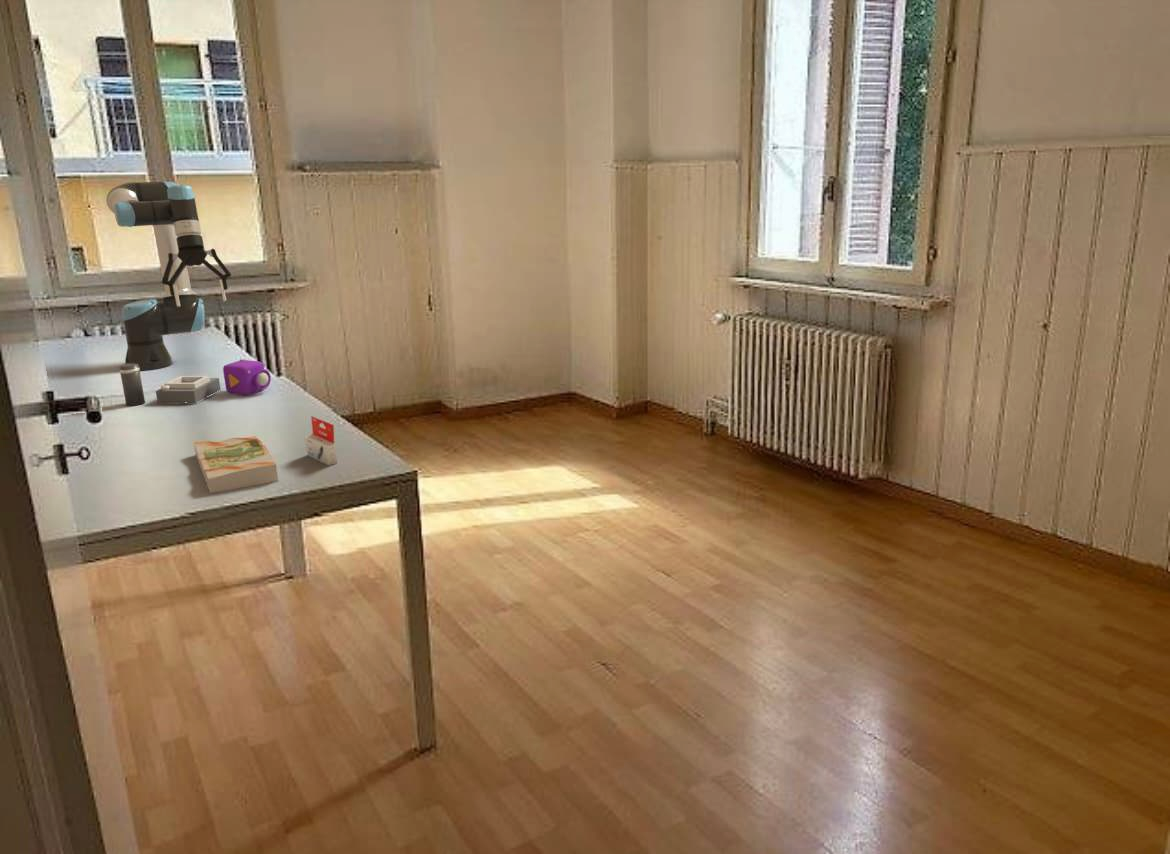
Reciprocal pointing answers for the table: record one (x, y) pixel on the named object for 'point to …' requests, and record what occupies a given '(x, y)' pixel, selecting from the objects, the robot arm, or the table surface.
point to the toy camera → (246, 377)
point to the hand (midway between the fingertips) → (201, 303)
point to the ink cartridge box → (321, 442)
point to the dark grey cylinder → (132, 384)
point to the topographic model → (235, 463)
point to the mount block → (187, 389)
